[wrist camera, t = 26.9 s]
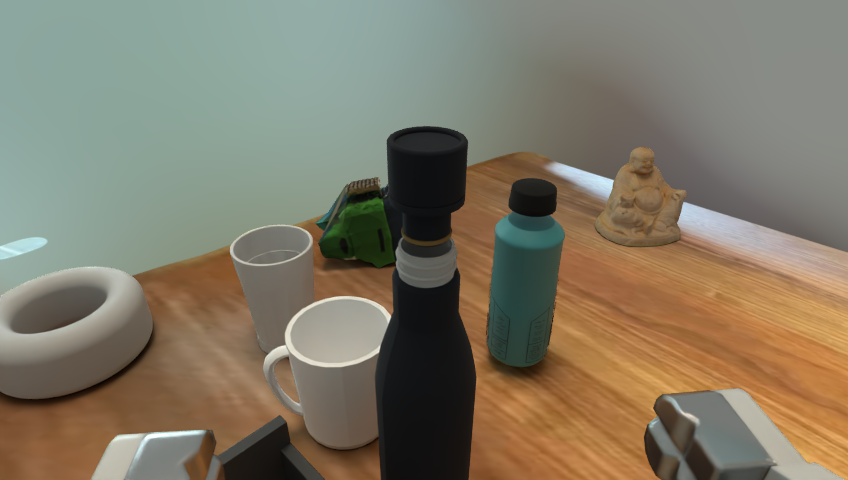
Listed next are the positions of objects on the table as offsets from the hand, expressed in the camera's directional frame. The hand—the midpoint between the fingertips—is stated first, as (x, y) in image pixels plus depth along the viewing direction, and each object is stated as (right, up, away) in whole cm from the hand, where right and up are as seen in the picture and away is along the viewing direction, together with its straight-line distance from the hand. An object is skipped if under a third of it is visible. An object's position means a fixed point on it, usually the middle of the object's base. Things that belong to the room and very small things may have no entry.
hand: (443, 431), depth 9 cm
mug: (-8, -13, +38) cm, 41 cm away
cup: (-16, -7, +47) cm, 50 cm away
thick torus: (-37, -9, +45) cm, 59 cm away
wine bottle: (0, -18, +30) cm, 35 cm away
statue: (+32, +5, +69) cm, 76 cm away
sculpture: (-9, +2, +63) cm, 64 cm away
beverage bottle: (+9, -9, +45) cm, 47 cm away
